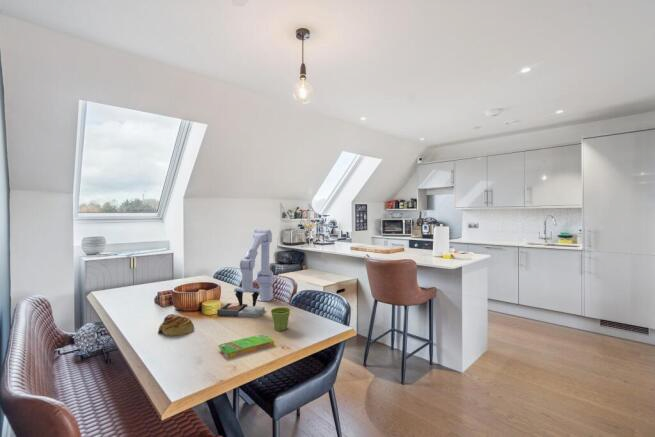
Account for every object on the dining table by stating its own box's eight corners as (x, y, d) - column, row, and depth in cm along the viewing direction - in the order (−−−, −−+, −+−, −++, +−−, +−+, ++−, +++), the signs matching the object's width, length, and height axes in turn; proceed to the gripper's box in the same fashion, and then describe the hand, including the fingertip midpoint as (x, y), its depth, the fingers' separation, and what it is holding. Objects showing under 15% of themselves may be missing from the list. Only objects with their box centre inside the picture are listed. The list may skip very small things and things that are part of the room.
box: (228, 308, 179) (228, 303, 179) (247, 309, 177) (247, 304, 177) (217, 315, 167) (217, 309, 167) (238, 316, 165) (238, 310, 165)
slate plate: (247, 309, 177) (247, 305, 177) (264, 310, 176) (264, 306, 176) (238, 316, 165) (238, 312, 165) (256, 317, 164) (256, 313, 164)
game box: (274, 347, 131) (225, 359, 119) (264, 340, 139) (216, 350, 126) (274, 340, 131) (225, 351, 119) (264, 333, 139) (217, 342, 126)
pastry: (159, 328, 149) (159, 311, 149) (194, 324, 155) (194, 307, 155) (156, 339, 137) (156, 320, 137) (193, 334, 143) (193, 316, 143)
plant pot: (289, 332, 144) (289, 313, 144) (268, 332, 144) (268, 313, 144) (292, 325, 153) (292, 307, 153) (272, 325, 154) (272, 307, 153)
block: (233, 308, 177) (232, 303, 177) (243, 306, 176) (242, 302, 176) (228, 311, 171) (227, 307, 171) (238, 310, 170) (237, 305, 170)
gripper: (231, 281, 169) (231, 307, 170) (257, 283, 167) (257, 308, 167) (237, 279, 176) (237, 303, 177) (262, 280, 174) (262, 304, 174)
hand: (247, 305), depth 172 cm, fingers open, 7 cm apart
